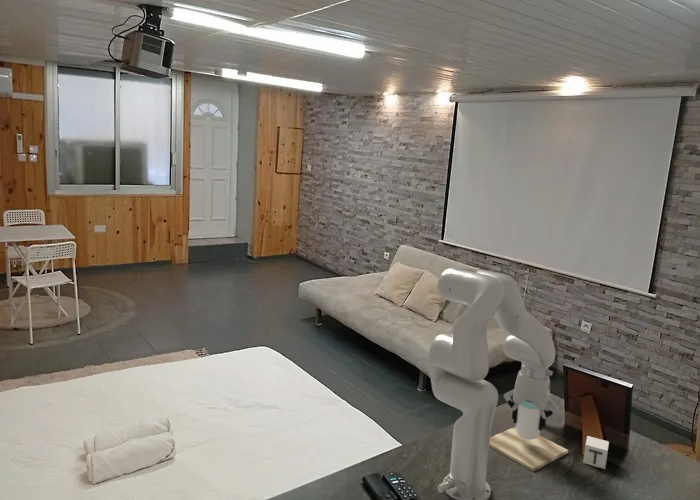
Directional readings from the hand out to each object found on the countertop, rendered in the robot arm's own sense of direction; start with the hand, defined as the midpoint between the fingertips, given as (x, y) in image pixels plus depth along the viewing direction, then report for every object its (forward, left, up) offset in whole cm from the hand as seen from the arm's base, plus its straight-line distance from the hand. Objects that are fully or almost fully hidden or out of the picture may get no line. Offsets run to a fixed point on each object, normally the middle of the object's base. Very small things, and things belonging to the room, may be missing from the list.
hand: (528, 424), depth 163 cm
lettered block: (+12, -16, -8) cm, 21 cm away
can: (0, 0, -4) cm, 4 cm away
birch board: (0, 0, -8) cm, 8 cm away
